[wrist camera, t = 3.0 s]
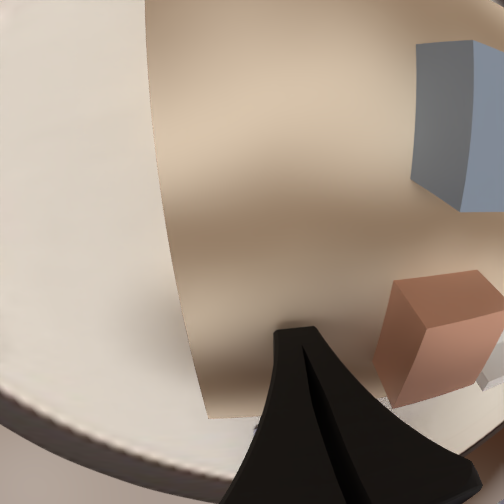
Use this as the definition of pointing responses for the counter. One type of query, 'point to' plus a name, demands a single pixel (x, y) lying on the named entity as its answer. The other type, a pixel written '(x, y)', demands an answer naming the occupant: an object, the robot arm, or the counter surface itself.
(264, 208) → the oak board
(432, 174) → the slate tile
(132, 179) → the counter surface
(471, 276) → the terracotta block
